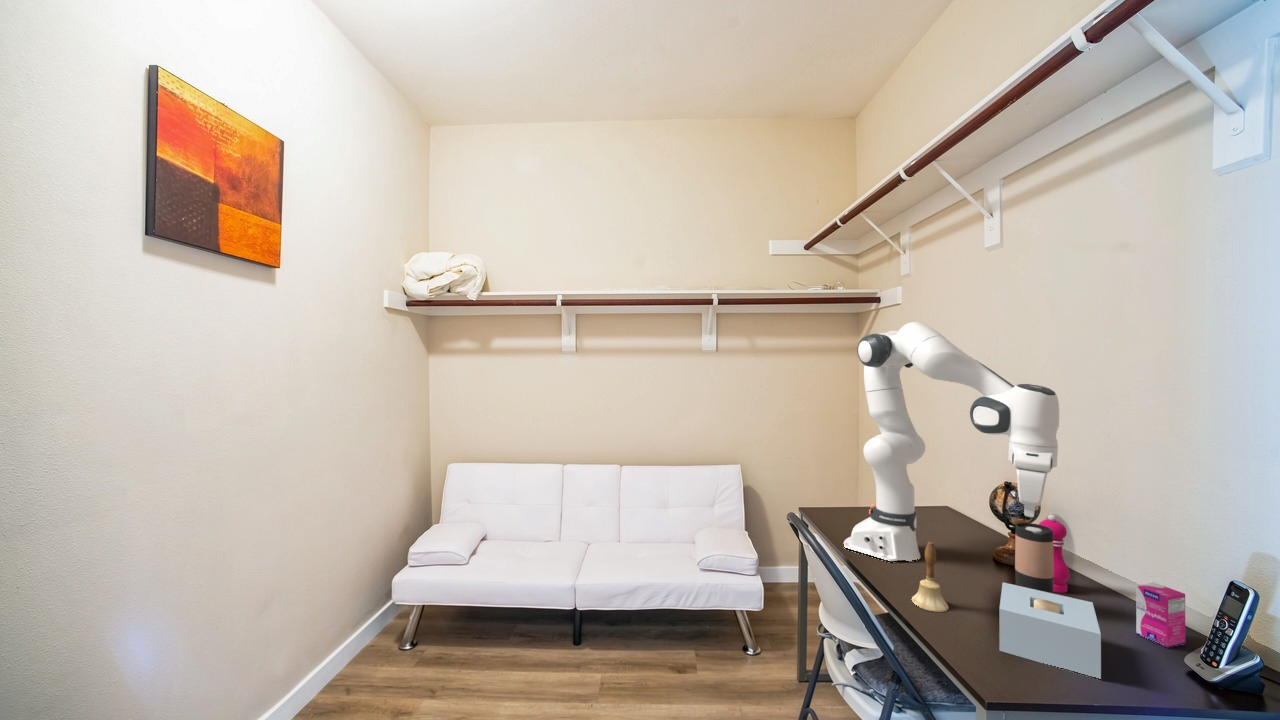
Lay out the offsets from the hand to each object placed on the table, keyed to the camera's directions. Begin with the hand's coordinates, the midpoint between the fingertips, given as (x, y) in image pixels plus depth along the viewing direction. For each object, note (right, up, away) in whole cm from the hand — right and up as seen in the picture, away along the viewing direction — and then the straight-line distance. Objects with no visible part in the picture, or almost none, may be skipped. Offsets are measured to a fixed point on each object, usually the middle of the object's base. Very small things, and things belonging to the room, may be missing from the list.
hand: (1029, 515), depth 114 cm
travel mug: (+10, -27, +11) cm, 31 cm away
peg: (-1, -25, -6) cm, 26 cm away
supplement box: (+26, -27, -4) cm, 38 cm away
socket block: (-1, -27, -6) cm, 27 cm away
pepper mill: (+23, -27, +21) cm, 41 cm away
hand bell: (-16, -27, +12) cm, 34 cm away
